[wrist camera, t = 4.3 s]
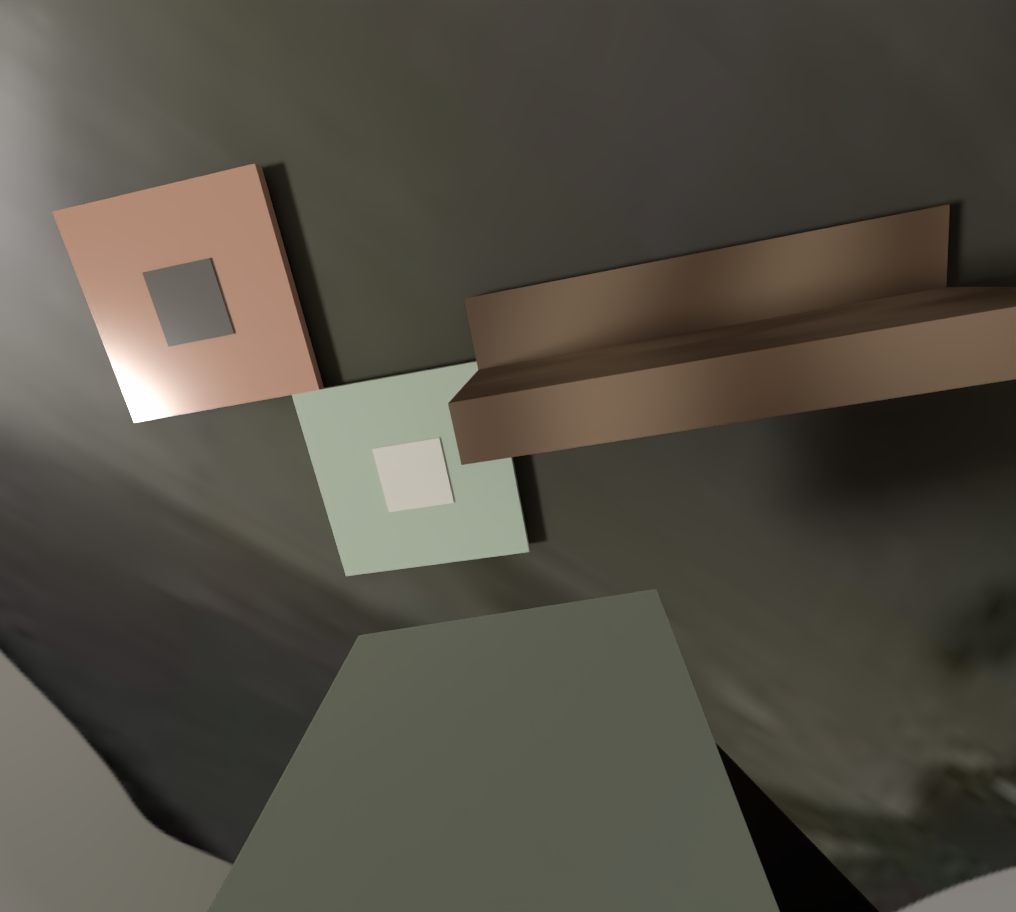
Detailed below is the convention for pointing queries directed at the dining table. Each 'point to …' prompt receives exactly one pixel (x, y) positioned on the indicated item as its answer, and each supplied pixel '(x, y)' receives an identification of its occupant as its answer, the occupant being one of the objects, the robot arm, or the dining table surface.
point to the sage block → (507, 777)
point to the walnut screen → (729, 338)
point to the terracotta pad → (192, 294)
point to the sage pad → (407, 474)
